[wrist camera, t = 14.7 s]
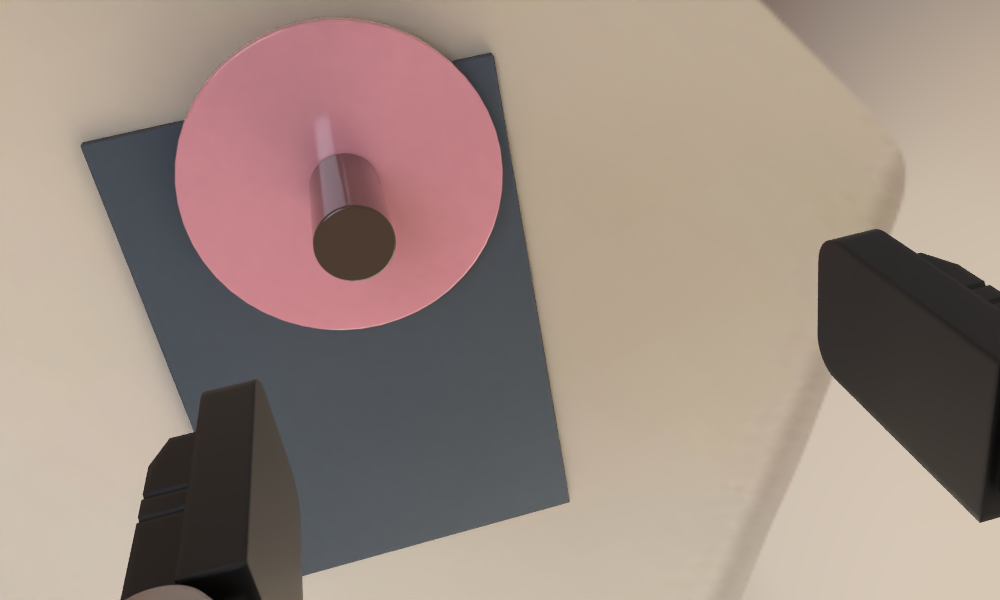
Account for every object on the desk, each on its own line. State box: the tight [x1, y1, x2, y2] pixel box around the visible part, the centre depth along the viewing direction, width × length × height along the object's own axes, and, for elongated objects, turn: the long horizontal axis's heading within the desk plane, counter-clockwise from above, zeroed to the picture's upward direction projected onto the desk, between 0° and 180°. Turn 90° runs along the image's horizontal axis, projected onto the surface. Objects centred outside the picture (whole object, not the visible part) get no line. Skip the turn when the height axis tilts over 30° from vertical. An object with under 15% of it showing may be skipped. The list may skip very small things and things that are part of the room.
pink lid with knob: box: [175, 17, 503, 330], centre depth 30 cm, size 11×11×6 cm
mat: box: [81, 53, 569, 576], centre depth 36 cm, size 20×14×1 cm
